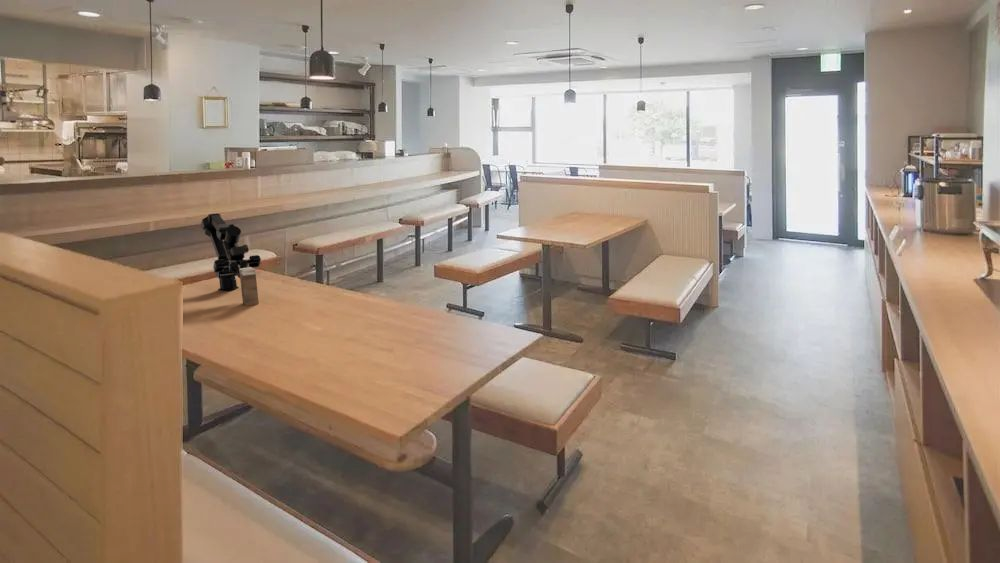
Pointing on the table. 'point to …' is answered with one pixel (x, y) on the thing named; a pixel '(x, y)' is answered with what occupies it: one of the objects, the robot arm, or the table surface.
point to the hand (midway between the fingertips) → (242, 279)
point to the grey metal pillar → (248, 286)
